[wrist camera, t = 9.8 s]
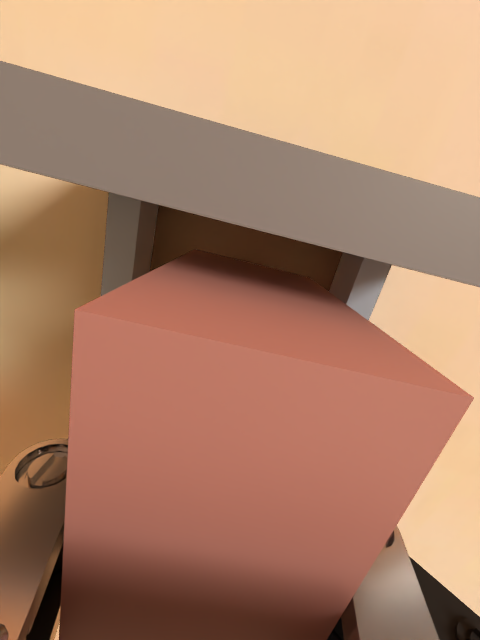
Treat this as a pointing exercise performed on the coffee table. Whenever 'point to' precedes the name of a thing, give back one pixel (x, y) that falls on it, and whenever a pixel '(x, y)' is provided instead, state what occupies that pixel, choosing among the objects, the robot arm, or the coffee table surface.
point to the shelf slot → (231, 186)
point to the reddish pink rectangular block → (236, 454)
